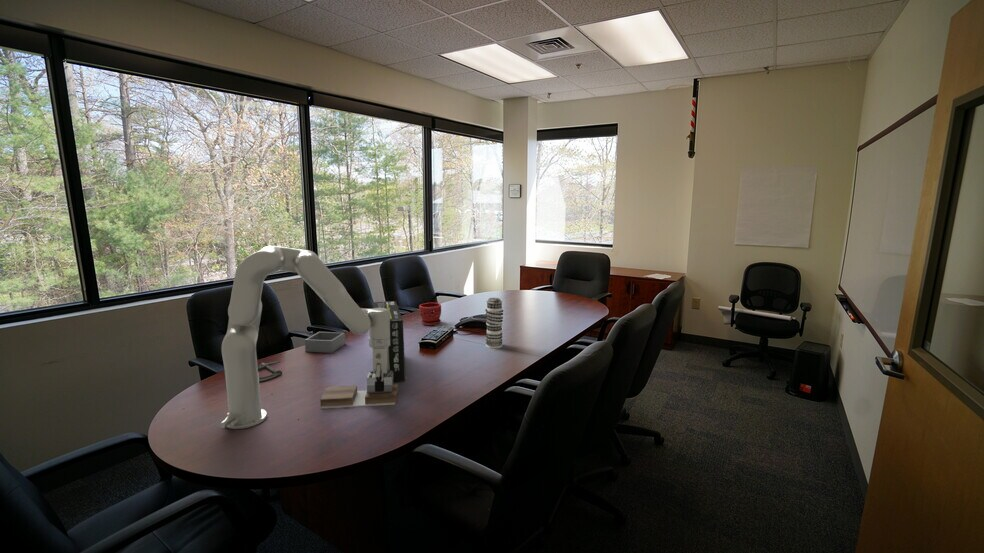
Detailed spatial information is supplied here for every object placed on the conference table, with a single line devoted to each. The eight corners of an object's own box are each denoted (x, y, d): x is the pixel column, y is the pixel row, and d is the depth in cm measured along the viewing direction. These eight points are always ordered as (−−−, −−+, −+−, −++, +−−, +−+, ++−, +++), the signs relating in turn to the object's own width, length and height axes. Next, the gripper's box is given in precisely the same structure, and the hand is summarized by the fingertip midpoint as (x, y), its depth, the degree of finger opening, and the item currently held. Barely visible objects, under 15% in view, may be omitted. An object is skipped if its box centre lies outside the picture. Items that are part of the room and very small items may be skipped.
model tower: (497, 349, 223) (497, 301, 219) (481, 346, 227) (482, 299, 223) (506, 345, 230) (506, 298, 226) (491, 342, 235) (491, 296, 231)
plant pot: (433, 319, 279) (433, 301, 277) (445, 324, 269) (445, 304, 267) (415, 323, 271) (415, 304, 269) (427, 327, 261) (426, 308, 259)
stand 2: (396, 402, 163) (395, 395, 162) (365, 404, 161) (365, 397, 161) (398, 389, 173) (397, 383, 173) (369, 391, 172) (368, 385, 171)
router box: (374, 355, 213) (372, 301, 208) (397, 353, 216) (396, 300, 212) (378, 384, 179) (376, 320, 175) (406, 381, 182) (404, 318, 178)
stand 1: (352, 404, 160) (352, 397, 160) (320, 406, 159) (320, 399, 158) (357, 391, 171) (356, 385, 171) (327, 393, 170) (327, 387, 169)
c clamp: (237, 372, 192) (237, 366, 192) (279, 362, 204) (279, 357, 203) (250, 386, 178) (250, 380, 177) (295, 375, 189) (294, 369, 189)
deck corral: (332, 352, 216) (331, 341, 215) (305, 351, 218) (304, 339, 217) (345, 343, 230) (344, 332, 229) (319, 342, 231) (319, 331, 230)
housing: (392, 392, 164) (391, 375, 163) (367, 393, 163) (366, 376, 162) (393, 385, 170) (393, 369, 169) (369, 386, 169) (368, 370, 168)
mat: (397, 389, 174) (397, 388, 174) (395, 404, 162) (395, 403, 162) (328, 393, 171) (328, 392, 171) (320, 408, 158) (320, 407, 158)
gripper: (388, 348, 156) (388, 397, 158) (391, 334, 172) (392, 378, 175) (366, 349, 155) (367, 397, 157) (372, 334, 171) (372, 379, 174)
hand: (380, 387), depth 166 cm, fingers closed on housing, 6 cm apart
